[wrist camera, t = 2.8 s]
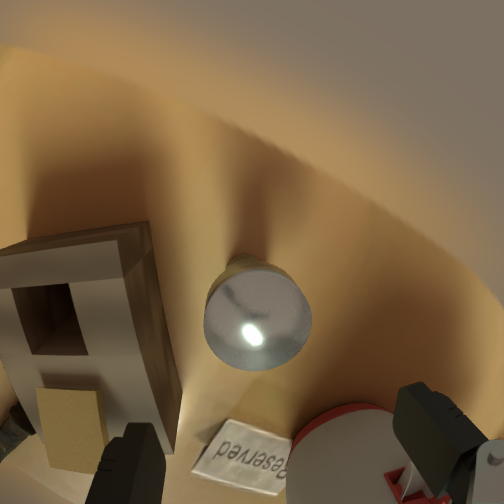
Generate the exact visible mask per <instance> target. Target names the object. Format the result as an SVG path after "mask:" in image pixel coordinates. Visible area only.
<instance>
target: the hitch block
mask: <svg viewBox="0 0 504 504" xmlns="http://www.w3.org/2000/svg"><path fill="white" fill-rule="evenodd" d="M67 283H69V287H70V291H71V295H72V299H73V303H74V307H75V311H74V308H73V304H72V301H71V297H70V292H69V288H68V284H67ZM0 359H1V361H2V364H3V366H4V369H5V371H6V373H7V375H8V378H9V380H10V382H11V384H12V387H13V389H14V391H15V393H16V395H17V397H18V399H19V401H20V403H21V405H22V407H23V409H24V411H25V413H26V415H27V417H28V418H29V420H30V422H31V424H32V426H33V427H34V429H35V431H36V433H37V434H38V436H39V438H40V439H41V441H42V443H43V444H45V443H44V438H43V433H42V427H41V422H40V416H39V409H38V402H37V395H36V387H53V388H69V389H92V390H102V396H103V404H104V411H105V417H106V423H107V429H108V435H109V440H110V441H111V440H112V439H113V438H114V437H123V434H124V431H125V428H126V425H127V424H128V423H129V422H150V423H152V424H153V425H154V428H155V431H156V433H157V436H158V439H159V441H160V444H161V447H162V449H163V452H164V454H174V449H175V441H176V434H177V427H178V420H179V413H180V406H181V400H182V390H181V386H180V382H179V378H178V374H177V370H176V365H175V361H174V357H173V352H172V348H171V344H170V339H169V334H168V330H167V325H166V320H165V315H164V310H163V305H162V299H161V294H160V288H159V283H158V277H157V271H156V265H155V259H154V252H153V246H152V239H151V232H150V225H149V221H146V222H139V223H131V224H124V225H117V226H110V227H103V228H96V229H89V230H83V231H76V232H70V233H63V234H57V235H51V236H45V237H39V238H33V239H27V240H24V241H22V242H19V243H16V244H14V245H11V246H8V247H6V248H3V249H1V250H0Z"/></svg>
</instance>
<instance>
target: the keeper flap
mask: <svg viewBox="0 0 504 504" xmlns="http://www.w3.org/2000/svg"><path fill="white" fill-rule="evenodd" d="M36 395H37V402H38V409H39V416H40V422H41V427H42V433H43V438H44V443H45V447H46V452H47V456H48V460H49V464H50V467H52V468H57V469H63V470H68V471H74V472H80V473H87V474H94V475H95V473H96V471H97V467H98V464H99V461H101V456H102V453H103V450H104V448H105V446H106V445H107V444H108V443H109V442H110V440H109V435H108V429H107V423H106V417H105V411H104V404H103V396H102V390H92V389H69V388H53V387H36Z"/></svg>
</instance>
